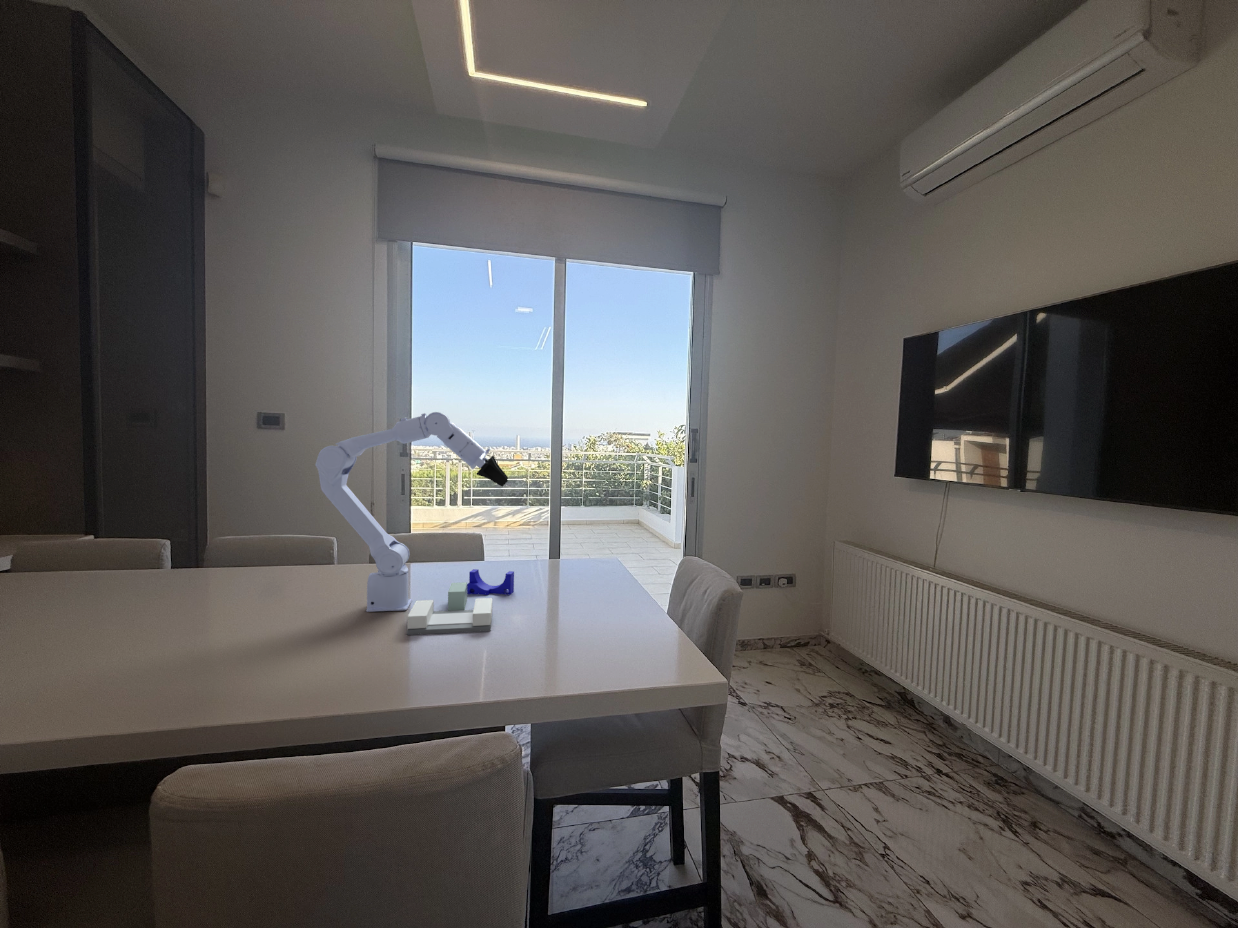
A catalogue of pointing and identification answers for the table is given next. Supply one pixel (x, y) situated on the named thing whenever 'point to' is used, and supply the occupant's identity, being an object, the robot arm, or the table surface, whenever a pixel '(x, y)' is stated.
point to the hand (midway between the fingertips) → (505, 482)
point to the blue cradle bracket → (482, 588)
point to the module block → (457, 596)
